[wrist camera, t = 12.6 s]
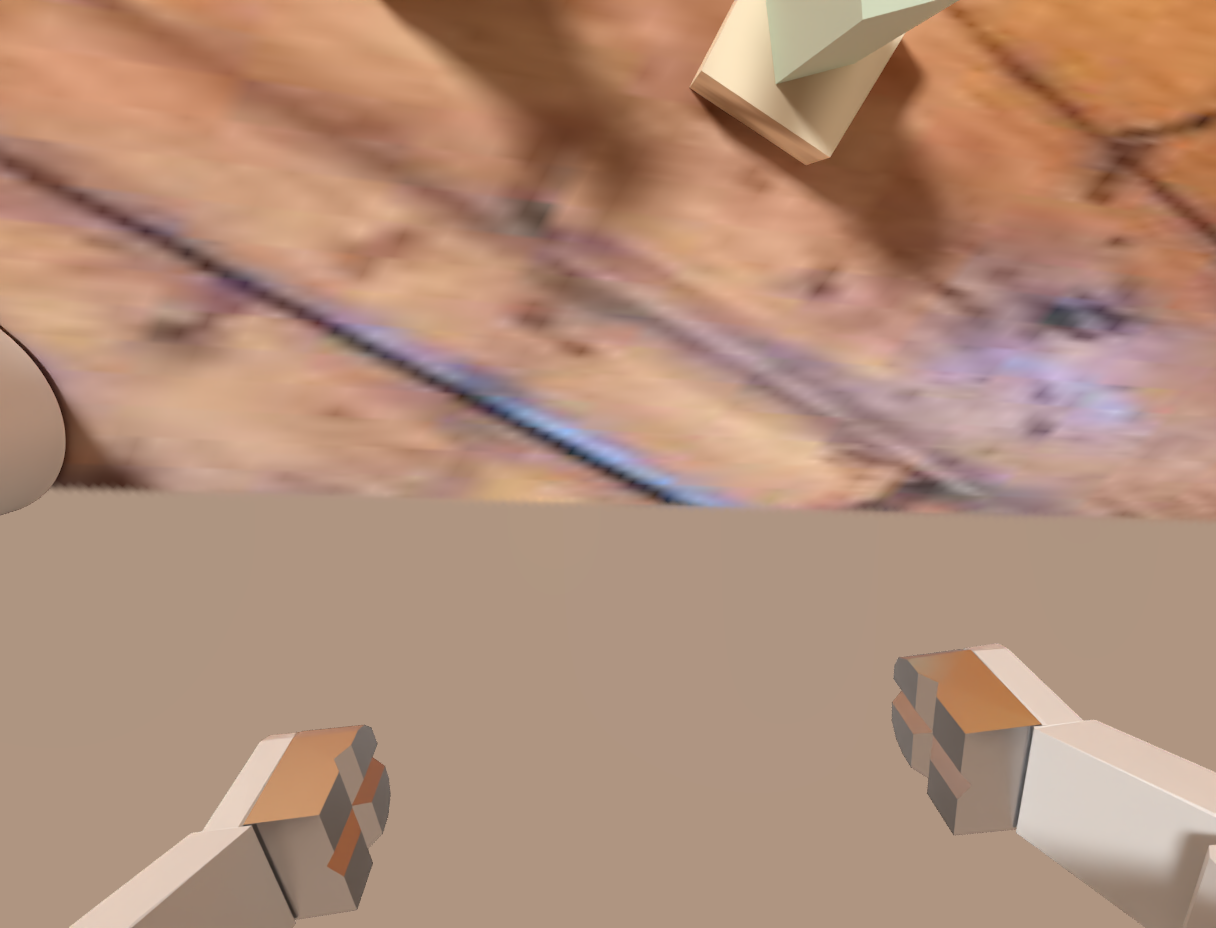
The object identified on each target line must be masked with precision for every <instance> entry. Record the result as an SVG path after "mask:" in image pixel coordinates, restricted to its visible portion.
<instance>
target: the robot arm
mask: <svg viewBox="0 0 1216 928" xmlns="http://www.w3.org/2000/svg"><path fill="white" fill-rule="evenodd" d="M65 445H66V438H65V427H64V422H63V418H62V414H61V410H60V408H59V405H58V402H57V400H56V397H55V395H54V393H53V391H52V389H51V387H50V385H49V384H48V382H47V380H46V379H45V377H44V375H43V374H42V373H41V371H40V370H39V368H38V367H37V366H36V364H35V363H34V362H33V361H32V359H31V358H30V357H29V356H28V355H27V354H26V352H25V351H24V350H23V349H22V348H21V347H20V346H19V345H18V344H17V343H16V342H15V341H13V340H12V339H11V338H10V337H9V336H8V335H7V334H5V333H4V332H3V331H2V330H1V329H0V515H3V514H6V513H9V512H13V511H16V510H19V509H21V508H23V507H25V506H28V505H29V504H31V503H33V502H34V501H36V500H37V499H39V498H40V497H41V496H42V495H43V494H45V493H46V492H47V491H48V489H49V488H50V487H51V486H52V484H53V483H54V482H55V480H56V478H57V476H58V474H59V472H60V470H61V467H62V464H63V460H64V455H65ZM894 680H895V682H896V683H897V685H898V686H899V687H900V689H901V690H902V691H901V692H900V693H899V695H898V696H897V697H896V698H895V699H894V701H893V702H892V723H893V727H894V732H895V735H896V740H897V742H898V744H899V747H900V749H901V751H902V753H903V755H904V757H905V758H906V760H907V762H908V763H909V765H910V766H911V768H913V769H915V770H916V771H918V772H919V773H921V774H922V775H924V776H926V777H927V778H928V790H927V794H928V795H929V797H930V799H931V800H932V802H933V803H934V805H935V806H936V808H937V810H938V811H939V812H940V814H941V816H942V818H943V819H944V821H945V822H946V824H947V826H948V827H949V829H950V830H951V832H952V833H953V835H962V834H973V833H983V832H994V831H1004V830H1013V829H1014V830H1015V829H1017V830H1016V833H1017V834H1018V835H1020V836H1021V837H1023V838H1024V839H1025V840H1027V841H1028V842H1029V843H1031V844H1032V845H1033V846H1035V847H1036V848H1038V849H1039V850H1040V851H1042V852H1043V853H1044V854H1046V855H1047V856H1048V857H1050V858H1051V859H1053V860H1054V861H1055V862H1057V863H1058V864H1059V865H1061V866H1062V867H1063V868H1065V869H1066V870H1068V871H1069V872H1070V873H1072V874H1073V875H1075V876H1076V877H1077V878H1078V879H1080V880H1081V881H1083V882H1084V883H1085V884H1087V885H1088V886H1089V887H1091V888H1092V889H1094V890H1095V891H1096V892H1098V893H1099V894H1100V895H1102V896H1103V897H1104V898H1106V899H1107V900H1108V901H1110V902H1111V903H1113V904H1114V905H1115V906H1117V907H1118V908H1119V909H1121V910H1122V911H1123V912H1125V913H1126V914H1128V915H1129V916H1130V917H1132V918H1133V919H1134V920H1136V921H1137V922H1138V923H1140V924H1141V925H1143V926H1144V927H1145V928H1216V773H1215V772H1213V771H1211V770H1209V769H1206V768H1204V767H1202V766H1200V765H1197V764H1195V763H1193V762H1191V761H1188V760H1186V759H1184V758H1181V757H1179V756H1177V755H1175V754H1172V753H1170V752H1168V751H1165V750H1163V749H1161V748H1159V747H1156V746H1154V745H1152V744H1149V743H1147V742H1145V741H1143V740H1140V739H1138V738H1136V737H1133V736H1131V735H1129V734H1127V733H1124V732H1122V731H1120V730H1117V729H1115V728H1113V727H1110V726H1108V725H1106V724H1104V723H1102V722H1099V721H1097V720H1086V721H1083V720H1082V719H1081V718H1080V717H1079V716H1078V715H1077V714H1076V713H1075V712H1074V711H1073V710H1072V709H1071V708H1070V707H1069V706H1068V705H1067V704H1066V703H1065V702H1063V701H1062V700H1061V699H1060V698H1059V697H1058V696H1057V695H1056V694H1055V693H1054V692H1053V691H1052V690H1051V689H1050V688H1049V687H1048V686H1047V685H1046V684H1044V682H1042V681H1041V680H1040V679H1039V678H1038V677H1037V676H1036V675H1035V674H1034V673H1033V672H1032V671H1031V670H1030V669H1029V668H1028V667H1027V666H1026V665H1024V663H1022V662H1021V661H1020V660H1019V659H1018V658H1017V657H1016V656H1015V655H1014V654H1013V653H1012V652H1011V651H1010V650H1009V649H1008V648H1006V647H1005V646H1002V645H1000V644H998V643H996V644H990V645H982V646H975V647H969V648H964V649H958V650H951V651H943V652H936V653H928V654H921V655H914V656H906V657H899V658H898V659H897V662H896V664H895V667H894ZM376 746H377V741H376V739H375V736H374V734H373V731H372V728H371V727H369V726H366V725H358V726H348V727H339V728H329V729H319V730H309V731H302V732H297V733H286V734H276V735H269V736H268V737H266V738H265V739H263V740H262V741H260V742H259V744H258V745H257V747H256V748H255V750H254V751H253V753H252V755H251V756H250V758H249V759H248V761H247V762H246V764H245V766H244V767H243V769H242V770H241V772H240V773H239V775H238V776H237V778H236V780H235V781H234V783H233V784H232V786H231V787H230V789H229V791H228V792H227V793H226V795H225V797H224V798H223V800H222V801H221V803H220V805H219V806H218V807H217V809H216V811H215V812H214V814H213V815H212V817H211V818H210V820H209V822H208V823H207V825H206V826H205V828H204V829H203V831H202V832H196V833H191V834H189V835H188V836H187V837H186V838H184V839H183V840H182V841H180V842H179V843H178V844H176V845H175V846H174V847H172V848H171V849H170V850H169V851H167V852H166V853H165V854H163V855H162V856H161V857H160V858H158V859H157V860H156V861H154V862H153V863H152V864H150V865H149V866H148V867H147V868H145V869H144V870H143V871H141V872H140V873H139V874H138V875H136V876H135V877H134V878H132V879H131V880H130V881H128V882H127V883H126V884H125V885H123V886H122V887H121V888H119V889H118V890H117V891H115V892H114V893H113V894H112V895H110V896H109V897H108V898H106V899H105V900H104V901H102V902H101V903H100V904H99V905H97V906H96V907H95V908H93V909H92V910H91V911H89V912H88V913H87V914H86V915H84V916H83V917H82V918H81V919H79V920H78V921H76V922H75V923H74V924H73V925H71V926H70V927H69V928H293V927H294V925H295V924H296V922H295V920H297V919H303V918H310V917H316V916H323V915H329V914H335V913H341V912H348V911H354V910H357V909H358V905H359V903H360V900H361V896H362V894H363V891H364V888H365V885H366V882H367V879H368V876H369V873H370V870H371V867H372V864H373V862H372V859H371V856H370V854H369V851H368V848H369V847H370V846H371V845H372V844H373V843H374V842H375V841H376V840H377V839H378V838H379V837H380V836H381V835H382V834H383V831H384V827H385V824H386V821H387V818H388V813H389V804H390V786H389V778H388V775H387V771H386V768H385V766H384V765H383V764H381V763H380V762H379V761H377V760H376V759H374V758H373V754H374V752H375V749H376Z"/></svg>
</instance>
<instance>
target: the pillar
mask: <svg viewBox="0 0 1216 928" xmlns="http://www.w3.org/2000/svg"><path fill="white" fill-rule="evenodd" d="M957 1H958V0H766V6H767V14H768V23H769V31H770V40H771V48H772V57H773V66H774V74H775V83H776V84H779V83H783V82H786V81H790V80H794V79H798V78H802V77H805V76H809V75H813V74H817V73H821V72H824V71H828V70H832V69H836V68H840V67H843V66H847V65H851V64H854V63H856V62H858V61H859V60H861V59H863V58H864V57H866V56H868V55H869V54H871V53H873V52H874V51H876V50H878V49H879V48H881V47H883V46H884V45H886V44H887V43H889V42H891V41H892V40H894V39H896V38H897V37H899V36H901V35H902V34H904V33H906V32H907V31H909V30H911V29H912V28H914V27H915V26H917V25H919V24H920V23H922V22H924V21H925V20H927V19H929V18H930V17H932V16H934V15H935V14H937V13H939V12H940V11H942V10H944V9H945V8H947V7H948V6H950V5H952V4H953V3H955V2H957Z"/></svg>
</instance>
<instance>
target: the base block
mask: <svg viewBox="0 0 1216 928" xmlns="http://www.w3.org/2000/svg"><path fill="white" fill-rule="evenodd" d="M904 34H905V33H904ZM904 34H902V35H901V36H899V37H897V38H896V39H894V40H892V41H891V42H889V43H887V44H886V45H884V46H883V47H881V48H879V49H878V50H876V51H874V52H873V53H871V54H869V55H868V56H866V57H864V58H863V59H861V60H859V61H858V62H856V63H854V64H851V65H847V66H843V67H840V68H836V69H832V70H828V71H824V72H821V73H817V74H813V75H809V76H805V77H802V78H798V79H794V80H790V81H786V82H783V83H779V84H776V83H775V74H774V66H773V57H772V48H771V40H770V31H769V23H768V14H767V6H766V0H734V2H733V4H732V6H731V8H730V10H729V12H728V14H727V16H726V18H725V20H724V21H723V23H722V25H721V27H720V29H719V31H718V33H717V35H716V37H715V39H714V41H713V43H712V45H711V47H710V49H709V50H708V52H707V54H706V56H705V58H704V60H703V62H702V64H701V66H700V68H699V70H698V72H697V74H696V76H695V78H694V80H693V81H692V83H691V85H690V87H689V88H691V89H692V90H694V91H695V92H697V93H698V94H700V95H701V96H703V97H704V98H706V99H707V100H709V101H710V102H712V103H713V104H715V105H716V106H718V107H719V108H721V109H722V110H724V111H725V112H727V113H728V114H730V115H731V116H733V117H734V118H736V119H737V120H739V121H740V122H742V123H743V124H745V125H746V126H748V127H749V128H751V129H752V130H754V131H755V132H757V133H758V134H760V135H761V136H763V137H764V138H766V139H767V140H769V141H770V142H772V143H773V144H775V145H776V146H778V147H779V148H781V149H782V150H784V151H785V152H787V153H788V154H790V155H791V156H793V157H794V158H796V159H797V160H799V161H800V162H802V163H803V164H805V165H809V164H812V163H815V162H818V161H821V160H824V159H827V158H830V157H831V155H832V153H833V152H834V150H835V148H836V147H837V145H838V144H839V142H840V140H841V139H842V137H843V135H844V134H845V132H846V130H847V129H848V127H849V125H850V124H851V122H852V120H853V119H854V117H855V115H856V114H857V112H858V110H859V109H860V107H861V105H862V104H863V102H864V100H865V99H866V97H867V95H868V94H869V92H870V90H871V89H872V87H873V85H874V84H875V82H876V80H877V79H878V77H879V76H880V74H881V72H882V71H883V69H884V67H885V66H886V64H887V62H888V61H889V59H890V57H891V56H892V54H893V52H894V51H895V49H896V47H897V46H898V44H899V42H900V41H901V39H902V37H903V36H904Z"/></svg>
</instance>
